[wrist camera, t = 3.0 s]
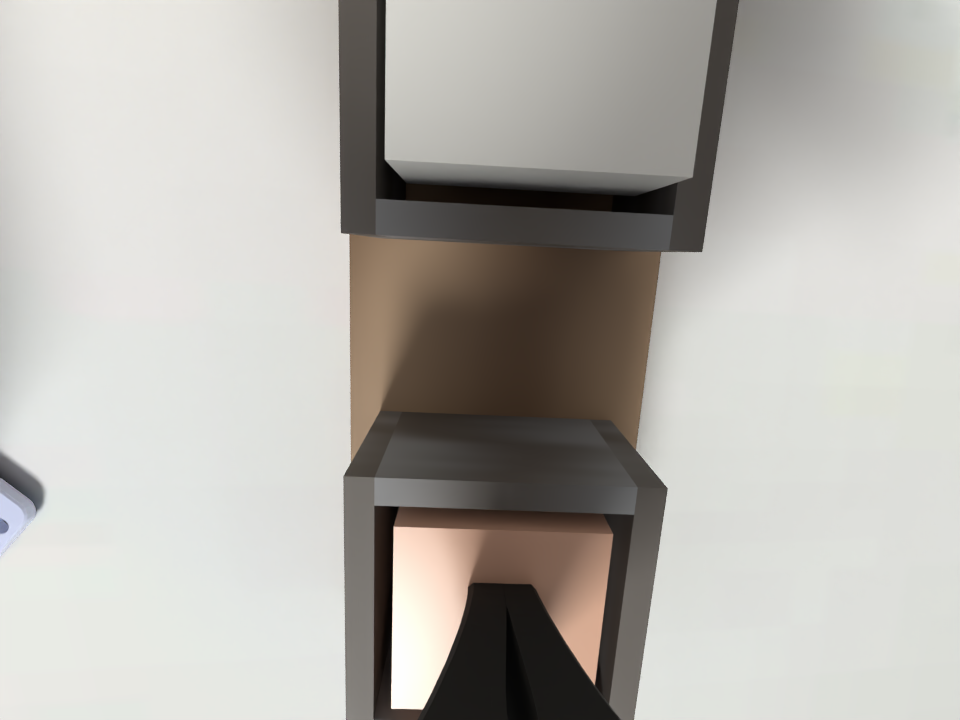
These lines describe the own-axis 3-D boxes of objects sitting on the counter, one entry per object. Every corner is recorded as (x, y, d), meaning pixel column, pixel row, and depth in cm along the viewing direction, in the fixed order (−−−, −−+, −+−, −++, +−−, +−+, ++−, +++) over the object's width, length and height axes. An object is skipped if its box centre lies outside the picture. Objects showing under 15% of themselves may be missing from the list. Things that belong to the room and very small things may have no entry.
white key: (407, 183, 9) (384, 158, 7) (411, -88, 8) (387, -227, 6) (635, 196, 9) (693, 177, 7) (665, -69, 9) (743, -197, 6)
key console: (362, 599, 16) (311, 768, 11) (361, -57, 12) (278, -294, 7) (598, 606, 17) (659, 775, 11) (675, -35, 13) (828, -246, 7)
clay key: (405, 623, 13) (391, 708, 11) (408, 471, 12) (393, 526, 10) (568, 628, 13) (591, 713, 11) (584, 477, 12) (613, 534, 10)
